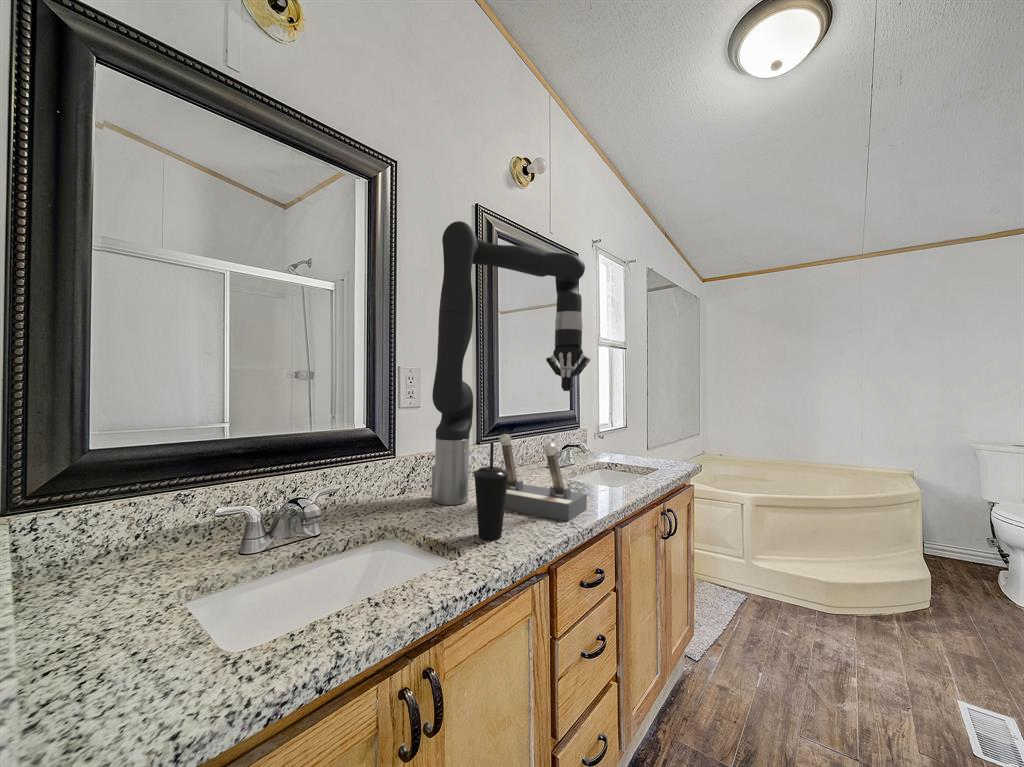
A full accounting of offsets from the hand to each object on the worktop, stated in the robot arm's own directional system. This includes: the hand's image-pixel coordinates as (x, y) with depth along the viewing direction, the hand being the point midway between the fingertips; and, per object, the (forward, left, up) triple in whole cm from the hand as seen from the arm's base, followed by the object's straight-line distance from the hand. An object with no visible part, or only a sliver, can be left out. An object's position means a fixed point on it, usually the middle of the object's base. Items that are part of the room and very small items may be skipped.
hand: (567, 390), depth 120 cm
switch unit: (-4, -10, -31) cm, 33 cm away
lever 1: (-11, -10, -26) cm, 30 cm away
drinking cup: (-2, -35, -31) cm, 47 cm away
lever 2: (+3, -10, -26) cm, 28 cm away
